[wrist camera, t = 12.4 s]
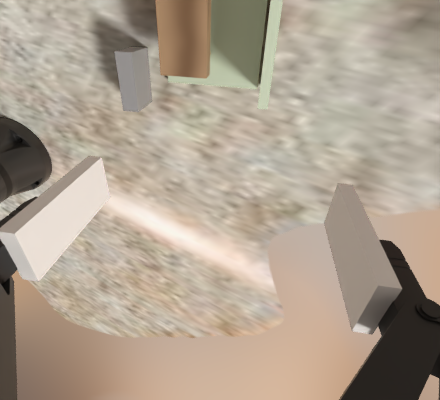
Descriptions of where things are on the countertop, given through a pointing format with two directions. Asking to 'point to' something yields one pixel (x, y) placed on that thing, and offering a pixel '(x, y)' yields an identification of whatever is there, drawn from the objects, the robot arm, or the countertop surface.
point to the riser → (134, 78)
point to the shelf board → (184, 37)
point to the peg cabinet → (241, 46)
